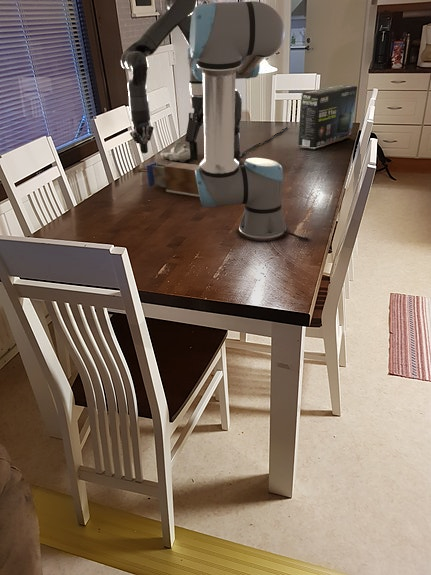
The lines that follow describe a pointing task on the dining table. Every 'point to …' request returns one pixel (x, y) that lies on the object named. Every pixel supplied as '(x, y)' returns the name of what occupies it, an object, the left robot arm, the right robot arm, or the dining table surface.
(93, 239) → the dining table surface
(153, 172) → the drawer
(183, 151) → the fossil
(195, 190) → the brown rectangular box
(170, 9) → the left robot arm
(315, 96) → the router box
